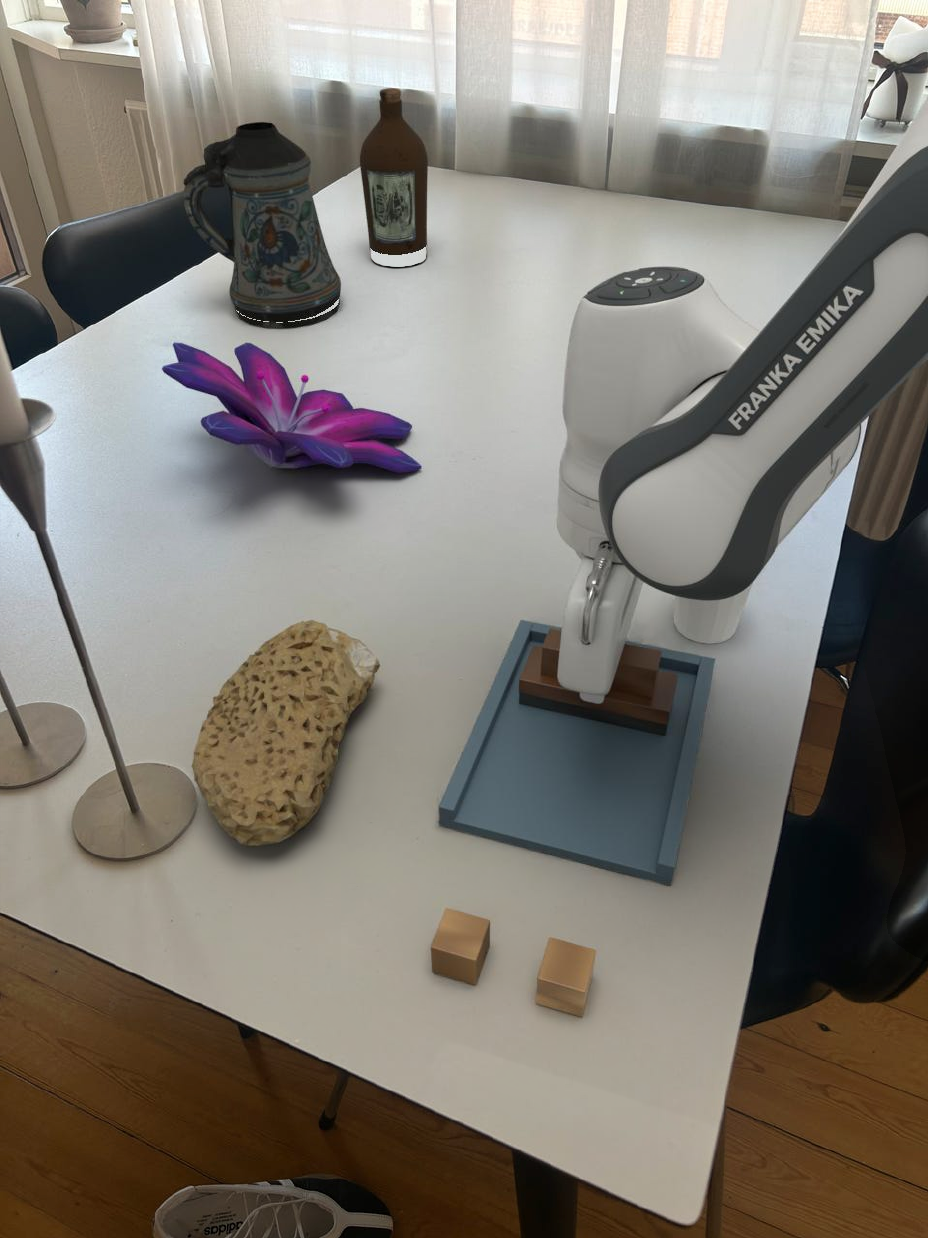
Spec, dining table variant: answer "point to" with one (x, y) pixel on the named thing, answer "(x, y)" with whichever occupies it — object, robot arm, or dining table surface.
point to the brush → (630, 702)
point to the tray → (580, 772)
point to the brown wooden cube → (460, 946)
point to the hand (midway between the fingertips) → (606, 655)
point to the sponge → (280, 731)
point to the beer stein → (267, 228)
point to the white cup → (709, 617)
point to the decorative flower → (288, 414)
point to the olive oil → (394, 181)
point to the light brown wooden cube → (565, 976)
